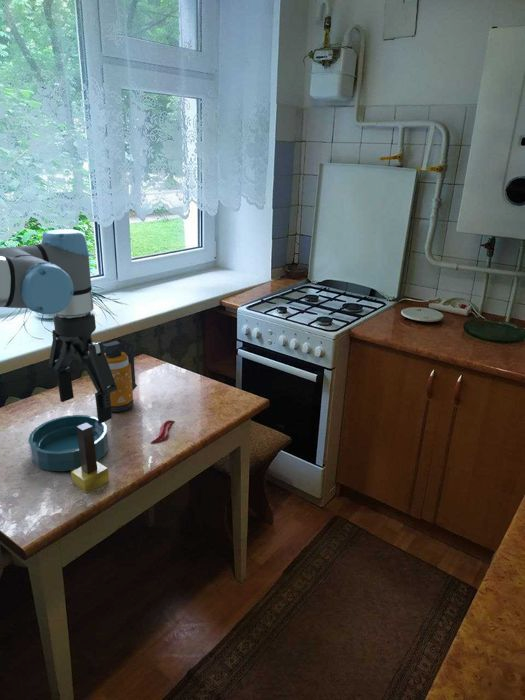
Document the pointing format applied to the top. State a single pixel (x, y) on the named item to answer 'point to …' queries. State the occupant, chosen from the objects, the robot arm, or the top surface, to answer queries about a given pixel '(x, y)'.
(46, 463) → the basin
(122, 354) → the canister
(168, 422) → the cayenne pepper
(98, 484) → the scrub brush
